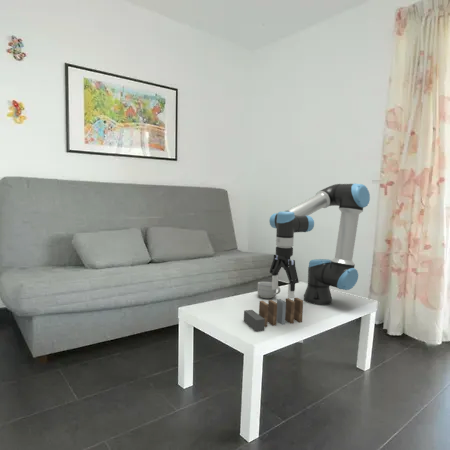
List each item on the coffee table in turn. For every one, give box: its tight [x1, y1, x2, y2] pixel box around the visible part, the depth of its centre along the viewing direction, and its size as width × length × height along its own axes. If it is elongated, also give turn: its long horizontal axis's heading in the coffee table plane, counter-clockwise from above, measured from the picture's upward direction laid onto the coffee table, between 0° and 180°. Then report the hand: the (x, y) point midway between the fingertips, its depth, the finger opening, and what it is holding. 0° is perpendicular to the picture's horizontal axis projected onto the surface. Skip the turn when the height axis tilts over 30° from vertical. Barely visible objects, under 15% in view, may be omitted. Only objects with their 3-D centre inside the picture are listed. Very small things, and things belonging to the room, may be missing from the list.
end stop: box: [243, 309, 266, 333], centre depth 146 cm, size 4×12×5 cm, turn 22°
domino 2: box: [267, 299, 277, 327], centre depth 149 cm, size 2×5×10 cm, turn 22°
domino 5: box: [293, 297, 304, 323], centre depth 154 cm, size 2×5×10 cm, turn 22°
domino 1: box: [258, 300, 268, 328], centre depth 147 cm, size 2×5×10 cm, turn 22°
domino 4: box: [285, 297, 295, 324], centre depth 152 cm, size 2×5×10 cm, turn 22°
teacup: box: [256, 281, 281, 300], centre depth 187 cm, size 14×11×8 cm
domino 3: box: [276, 298, 286, 326], centre depth 150 cm, size 2×5×10 cm, turn 22°
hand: (282, 293), depth 150 cm, fingers open, 13 cm apart
